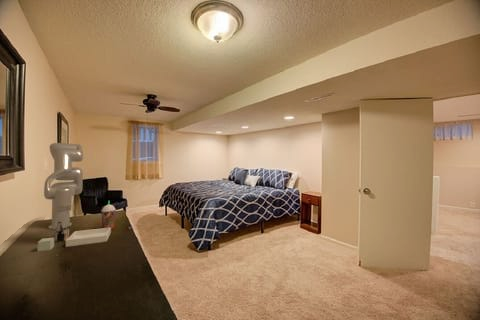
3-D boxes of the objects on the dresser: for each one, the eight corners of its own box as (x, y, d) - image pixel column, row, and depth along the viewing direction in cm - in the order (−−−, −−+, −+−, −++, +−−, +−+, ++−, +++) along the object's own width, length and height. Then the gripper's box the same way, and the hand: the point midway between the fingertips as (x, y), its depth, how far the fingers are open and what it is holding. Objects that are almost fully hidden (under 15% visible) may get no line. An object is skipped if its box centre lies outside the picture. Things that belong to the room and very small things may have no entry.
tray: (74, 236, 125) (74, 231, 125) (110, 232, 133) (110, 227, 133) (65, 246, 110) (65, 240, 110) (106, 241, 118) (106, 235, 118)
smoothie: (110, 231, 135) (110, 202, 135) (97, 231, 135) (98, 201, 135) (117, 227, 143) (118, 199, 143) (106, 227, 143) (107, 199, 143)
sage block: (42, 247, 109) (42, 238, 109) (54, 246, 111) (54, 237, 111) (37, 251, 104) (37, 242, 104) (50, 250, 106) (50, 240, 106)
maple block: (58, 238, 122) (58, 230, 122) (69, 237, 124) (69, 229, 124) (55, 241, 117) (55, 233, 117) (66, 240, 119) (66, 231, 119)
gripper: (60, 206, 127) (59, 235, 126) (48, 212, 111) (47, 245, 111) (75, 205, 130) (74, 233, 130) (66, 211, 115) (65, 243, 114)
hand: (62, 238), depth 120 cm, fingers closed on maple block, 5 cm apart
